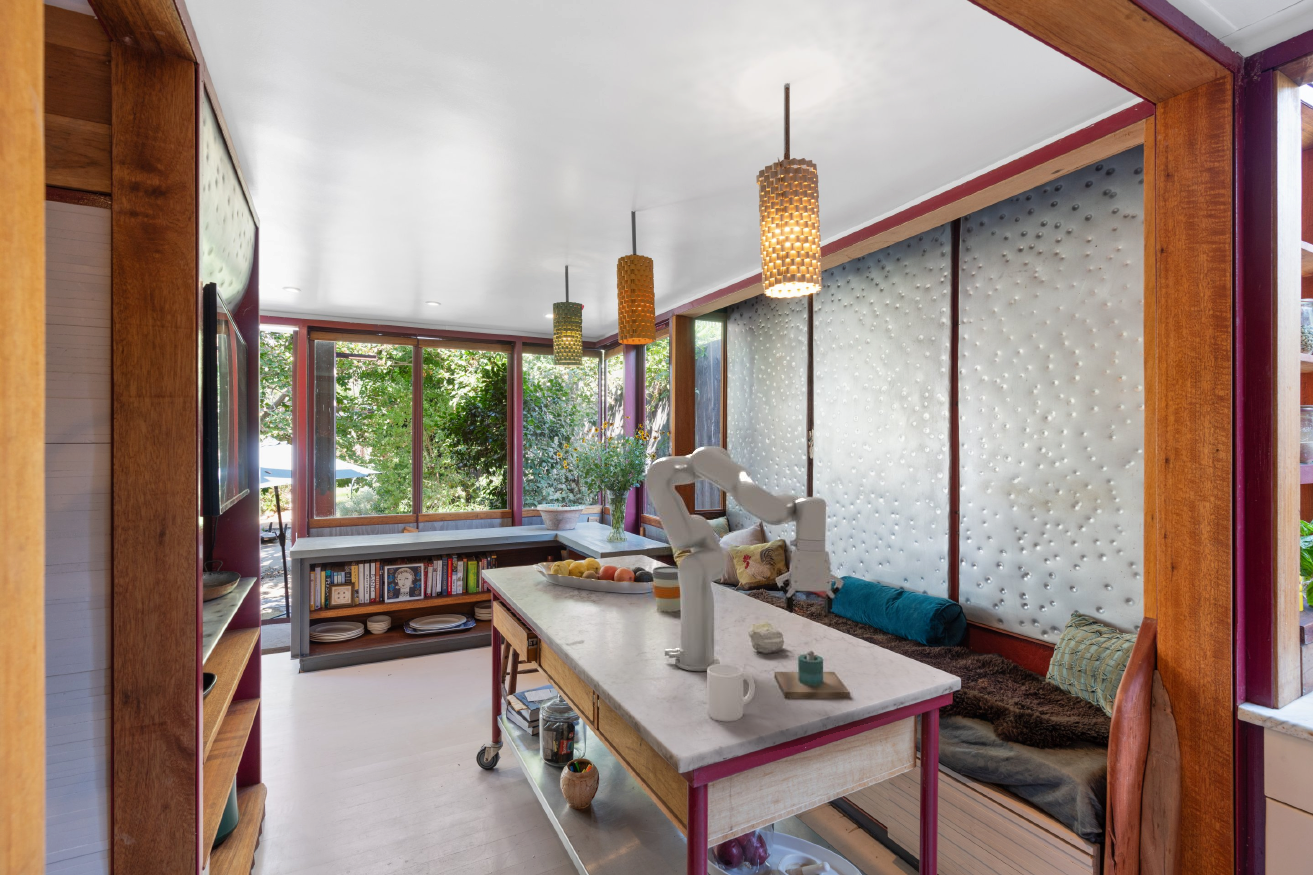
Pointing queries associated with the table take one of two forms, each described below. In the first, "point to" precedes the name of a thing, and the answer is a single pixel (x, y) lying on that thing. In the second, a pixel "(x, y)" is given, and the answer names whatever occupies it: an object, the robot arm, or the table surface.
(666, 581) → the reusable coffee cup
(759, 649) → the fossil replica
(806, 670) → the bead
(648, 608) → the table surface
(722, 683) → the mug
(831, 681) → the spindle stand
